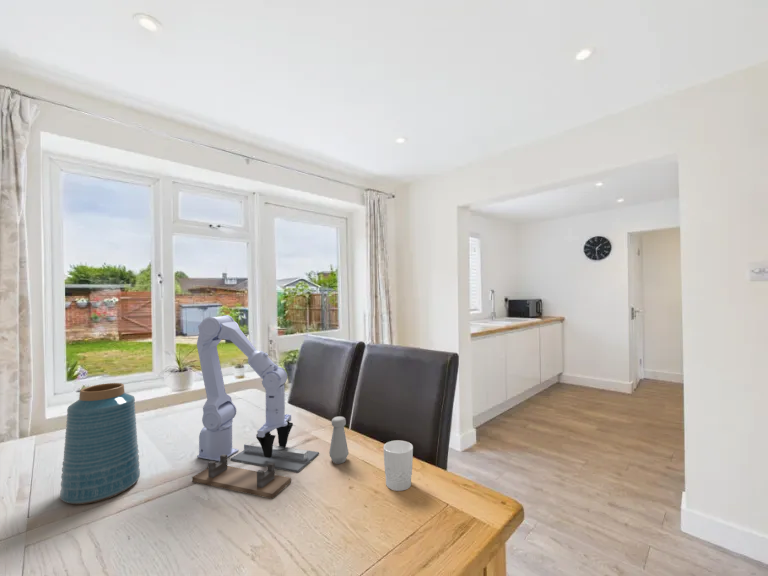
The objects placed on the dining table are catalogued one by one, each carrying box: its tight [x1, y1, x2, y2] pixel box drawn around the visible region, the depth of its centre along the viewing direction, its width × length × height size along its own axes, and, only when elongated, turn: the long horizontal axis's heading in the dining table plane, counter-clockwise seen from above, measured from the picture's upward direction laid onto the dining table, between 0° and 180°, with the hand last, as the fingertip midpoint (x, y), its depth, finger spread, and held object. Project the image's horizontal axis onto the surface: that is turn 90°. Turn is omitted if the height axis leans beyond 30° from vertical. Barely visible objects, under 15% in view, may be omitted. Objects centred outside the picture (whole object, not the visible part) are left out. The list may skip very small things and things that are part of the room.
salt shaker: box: [328, 415, 349, 465], centre depth 106 cm, size 6×6×13 cm
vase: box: [59, 382, 141, 505], centre depth 92 cm, size 16×16×27 cm
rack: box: [191, 454, 292, 499], centre depth 95 cm, size 26×8×5 cm, turn 71°
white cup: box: [383, 439, 414, 492], centre depth 93 cm, size 8×8×10 cm
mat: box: [230, 444, 320, 473], centre depth 109 cm, size 24×12×1 cm, turn 71°
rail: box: [243, 441, 309, 462], centre depth 109 cm, size 22×2×2 cm, turn 71°
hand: (275, 451), depth 109 cm, fingers open, 7 cm apart
